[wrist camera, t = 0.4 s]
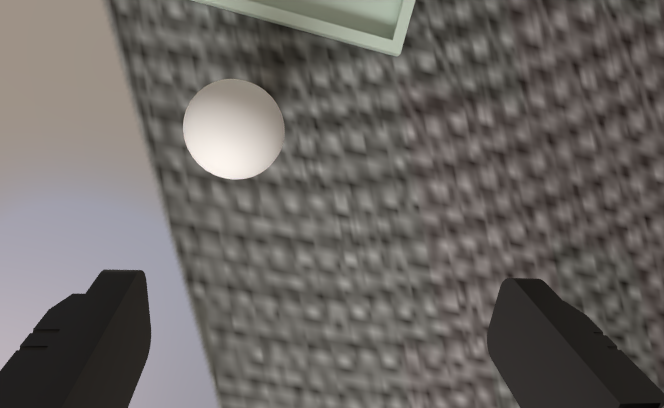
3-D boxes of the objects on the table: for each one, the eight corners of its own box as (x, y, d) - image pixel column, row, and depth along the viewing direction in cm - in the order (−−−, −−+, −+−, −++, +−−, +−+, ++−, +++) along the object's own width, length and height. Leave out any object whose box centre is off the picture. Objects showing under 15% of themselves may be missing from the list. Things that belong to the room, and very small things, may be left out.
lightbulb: (207, 141, 35) (152, 161, 24) (235, 69, 34) (190, 57, 23) (276, 172, 36) (253, 205, 25) (307, 103, 34) (295, 106, 24)
